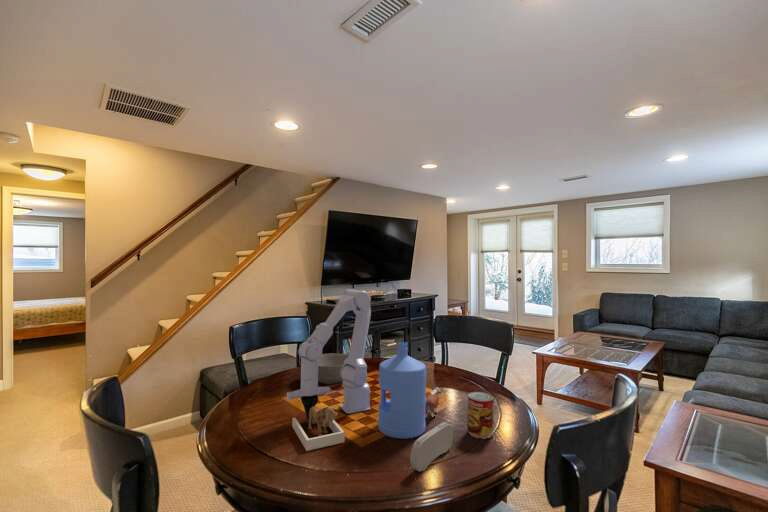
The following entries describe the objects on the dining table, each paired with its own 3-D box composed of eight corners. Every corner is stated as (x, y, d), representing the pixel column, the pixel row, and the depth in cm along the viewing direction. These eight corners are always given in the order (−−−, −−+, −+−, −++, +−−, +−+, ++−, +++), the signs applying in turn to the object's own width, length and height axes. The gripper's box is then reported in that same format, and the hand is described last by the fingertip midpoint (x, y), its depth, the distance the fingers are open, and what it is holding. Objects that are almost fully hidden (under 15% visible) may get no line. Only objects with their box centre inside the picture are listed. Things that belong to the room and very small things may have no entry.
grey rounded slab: (446, 445, 108) (446, 417, 108) (453, 448, 107) (453, 419, 107) (408, 474, 93) (409, 441, 93) (416, 477, 91) (416, 444, 92)
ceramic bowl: (294, 382, 162) (295, 360, 162) (330, 370, 180) (330, 350, 181) (331, 393, 149) (331, 369, 149) (365, 379, 168) (365, 358, 168)
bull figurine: (443, 408, 135) (443, 386, 136) (433, 422, 123) (433, 398, 123) (432, 406, 137) (432, 385, 137) (420, 420, 125) (421, 396, 125)
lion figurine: (339, 435, 113) (339, 406, 113) (325, 441, 109) (326, 411, 109) (311, 420, 123) (311, 394, 123) (297, 425, 119) (298, 398, 119)
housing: (326, 420, 124) (326, 411, 124) (344, 442, 109) (344, 432, 109) (292, 427, 118) (292, 417, 118) (306, 451, 103) (306, 440, 103)
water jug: (427, 421, 124) (429, 339, 125) (422, 443, 109) (423, 350, 110) (383, 416, 128) (385, 337, 128) (372, 436, 112) (374, 346, 113)
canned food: (462, 430, 118) (463, 393, 118) (482, 426, 121) (482, 390, 121) (477, 441, 111) (477, 402, 111) (498, 437, 114) (498, 398, 114)
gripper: (326, 371, 129) (325, 409, 129) (285, 376, 123) (284, 417, 122) (332, 377, 123) (332, 417, 123) (290, 383, 116) (289, 425, 116)
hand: (308, 417), depth 122 cm, fingers closed, pressing on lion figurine
